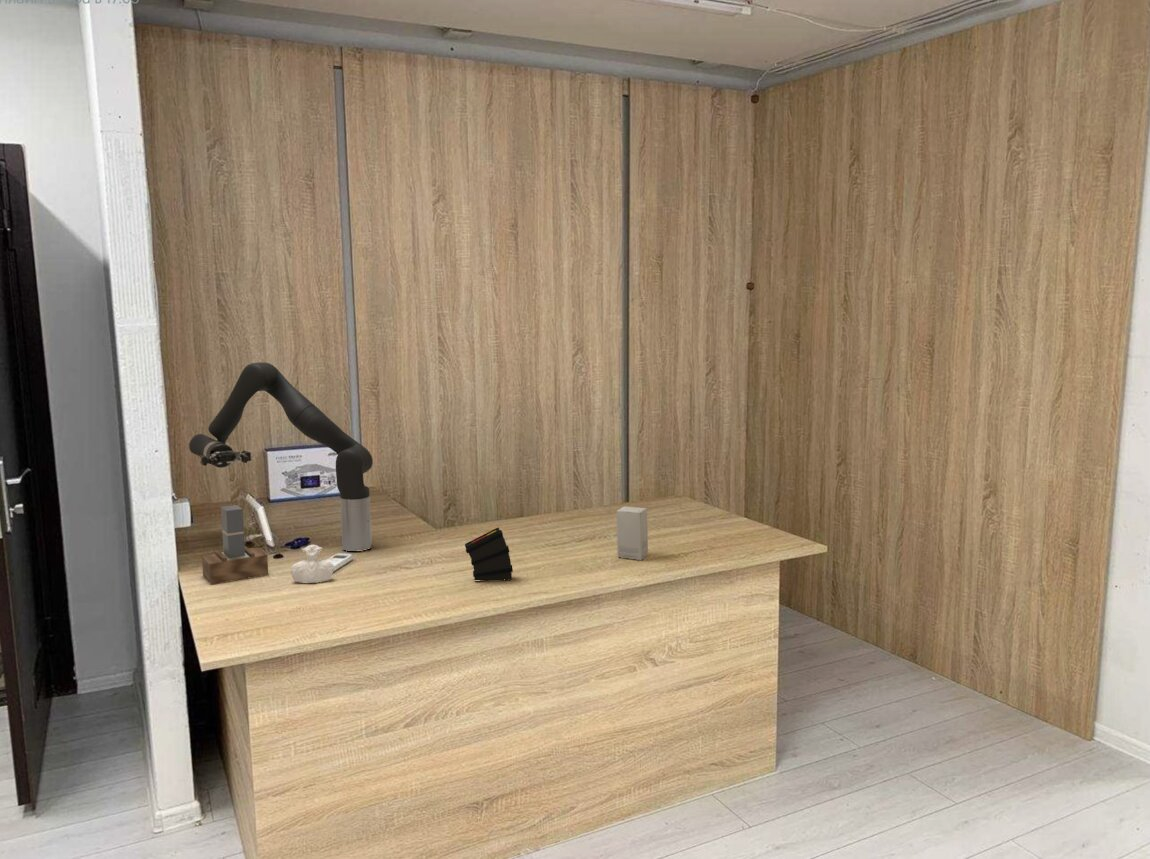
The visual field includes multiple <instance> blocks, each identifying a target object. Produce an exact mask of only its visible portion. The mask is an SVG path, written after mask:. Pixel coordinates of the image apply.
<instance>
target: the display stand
mask: <svg viewBox="0 0 1150 859" xmlns="http://www.w3.org/2000/svg"><path fill="white" fill-rule="evenodd" d="M244 546H245V556H241V557H235V558H228V557H227V556H226V555H225V554H224V552H223V551H222V552H221V550H219V549H217V550H213V553H210V554H207V555H206V554H205V555H201V567H202V577H203V578H205V579H207V580H208V581H207V582H208V583H209V584H210V585H215V584H221V582H223V583H227V582H226V581H229V582H232V581H231V580H235V581H238V580H237V579H240V580H244V579H243V578H246V579H249V578H248V577H252V578H256V577H255V576H258V577H262V576H261V575H264V576H268V575H269V563H268V562H269V560H268V558H269V557H268V554H267V553H265V551H264V550H262V549H260V548H259V547H250V548H249V547H248V546H246V545H244Z"/></svg>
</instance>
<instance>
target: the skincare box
mask: <svg viewBox="0 0 1150 859" xmlns="http://www.w3.org/2000/svg"><path fill="white" fill-rule="evenodd" d="M648 532H649V531H648V508H647V507H638V506H637V507H636V506H625V505H624V506H622V507H621V508H619V509H618V510H616V537H617V538H616V539H617V540H616V541H617V542H616V543H617V544H616V545H617V558H618V557H622V558H629V559H628V560H631V559H636V560H635V561H640V560H641V561H643V560H644V559H646V558H647V557H648V556H649V546H648V545H649V544H648V543H649V539H648ZM647 555H648V556H647ZM646 556H647V557H646ZM622 558H621V559H622ZM642 559H643V560H642Z"/></svg>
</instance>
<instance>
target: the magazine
mask: <svg viewBox="0 0 1150 859" xmlns="http://www.w3.org/2000/svg"><path fill="white" fill-rule="evenodd" d="M464 548H465V552H466V554H468V555H469V556H470V559H471V560H470V563H471V566H473V567H472V568H473V571H472V577H473V579H474V580H501V581H509V580H508V579H513V577H512V576H513V574H512V573H513V572H514V570H513V569H514V568H513V564H512V562H511V557H510V547H509V545H507V542H506V540H505V538H504V534H503V531H502V529H500V528H499V527H496V528H494V529H491V530H490V531H488V532H486V533H484V534H482V535H480V536H478V537H475V538H474V539H472V540H470V541H468V542H466V543H464ZM504 579H505V580H504Z"/></svg>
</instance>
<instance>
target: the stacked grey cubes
mask: <svg viewBox="0 0 1150 859" xmlns="http://www.w3.org/2000/svg"><path fill="white" fill-rule="evenodd" d="M243 511H244V510H243V508H242V507H240V506H239V505H237V504H234V505H228V506H221V507H220V514H221V517H220V518H221V533H222V549H223V551H222V552H224V554H225V555H226V556H227V557H228V558H235V557H241V556H245V546H246V545H245V532H244V531H245V530H244V529H245V528H244V515H243V514H244V513H243Z"/></svg>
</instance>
